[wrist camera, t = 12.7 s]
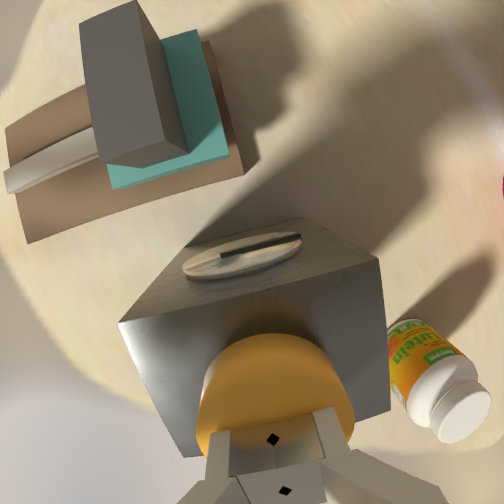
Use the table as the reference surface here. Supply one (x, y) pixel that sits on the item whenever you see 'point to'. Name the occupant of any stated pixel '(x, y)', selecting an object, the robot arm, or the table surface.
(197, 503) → the robot arm
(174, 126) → the carriage
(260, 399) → the button
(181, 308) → the cabinet
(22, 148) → the rail board
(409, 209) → the table surface
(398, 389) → the supplement bottle
